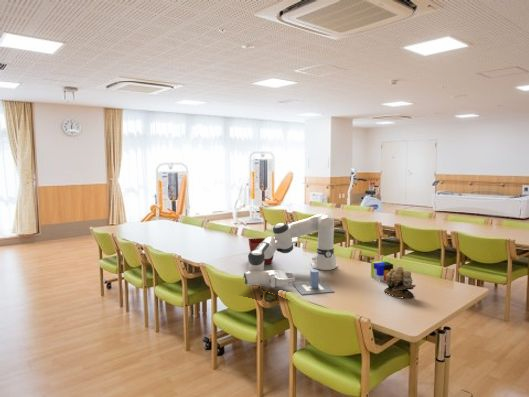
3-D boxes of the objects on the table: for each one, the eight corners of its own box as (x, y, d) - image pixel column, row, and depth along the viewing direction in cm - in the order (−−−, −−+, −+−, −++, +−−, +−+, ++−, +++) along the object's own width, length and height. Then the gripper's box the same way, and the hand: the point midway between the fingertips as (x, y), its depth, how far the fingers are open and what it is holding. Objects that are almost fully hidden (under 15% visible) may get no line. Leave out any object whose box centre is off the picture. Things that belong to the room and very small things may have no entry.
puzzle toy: (379, 281, 250) (379, 265, 249) (370, 276, 259) (371, 261, 258) (392, 279, 252) (393, 264, 251) (384, 275, 262) (384, 260, 261)
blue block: (310, 286, 240) (310, 270, 239) (316, 285, 241) (316, 269, 240) (312, 288, 236) (312, 272, 235) (318, 287, 237) (318, 271, 236)
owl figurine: (419, 295, 224) (419, 266, 222) (410, 301, 215) (411, 271, 213) (389, 288, 236) (389, 260, 234) (380, 293, 228) (380, 265, 226)
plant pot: (272, 258, 309) (272, 237, 307) (276, 265, 290) (276, 242, 288) (248, 259, 306) (248, 238, 305) (250, 266, 288) (250, 243, 286)
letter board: (292, 284, 246) (292, 283, 246) (322, 281, 250) (322, 280, 250) (301, 295, 226) (301, 294, 226) (334, 292, 230) (334, 291, 230)
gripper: (269, 277, 246) (290, 276, 247) (272, 288, 225) (296, 287, 227) (269, 267, 245) (290, 266, 246) (272, 277, 225) (296, 276, 226)
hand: (293, 276), depth 236 cm, fingers open, 8 cm apart
